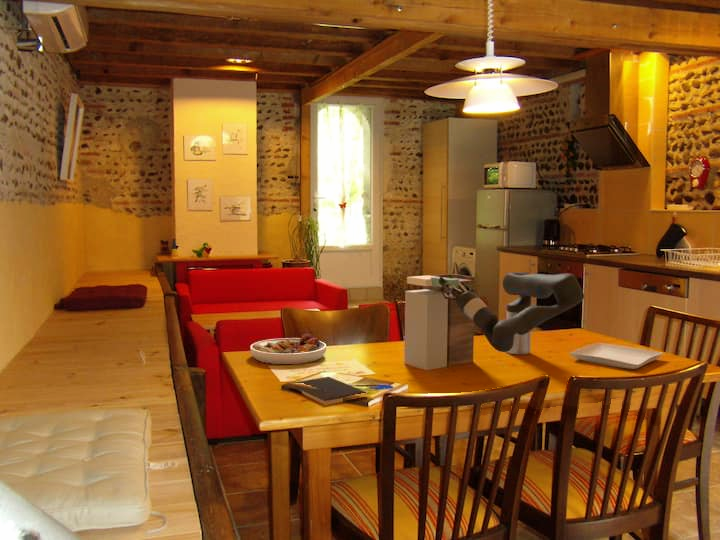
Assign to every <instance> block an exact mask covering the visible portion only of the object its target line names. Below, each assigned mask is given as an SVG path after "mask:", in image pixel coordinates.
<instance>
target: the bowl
mask: <svg viewBox="0 0 720 540" xmlns="http://www.w3.org/2000/svg"><path fill="white" fill-rule="evenodd" d="M249 348H250V349H249V351H250V354H251V356H252V357H253V359H256V360H257V361H259V362H262V363H264V362H265V364H269V363H271V365H279V364H293V365H301V364H300V363H303V364H309V363H312V362H315V361H318V360H320V359H321V358H322V357H324V355H325V354H326V351H327V344H326V343H325V342H322V341H320V340H319V339H318V337H313V336H312V334H310V333H305V334H303V335H302V336H301V338H299V337H290V338H289V337H285V338H284V337H283V338H271V339H270V338H269V339H265V340H264V339H263V340H259V341H257V342H256V341H255V342H254V343H252V344H251V345H250V347H249ZM308 362H309V363H308Z"/></svg>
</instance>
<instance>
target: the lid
mask: <svg viewBox="0 0 720 540" xmlns="http://www.w3.org/2000/svg"><path fill="white" fill-rule="evenodd" d="M443 278H444V277H443ZM439 279H440V277H436V276H432V275H428V274H427V275H414V276H407V277H406V284H410V285H415V286H422V287H428V286H437V287H442V285H441V284H440V283H439ZM444 279H445V280H446V281H447V282H448V283H449V284H450V285H451V286H452V285H453V286H455V287H456V288H458V286H459V279H452V278H444ZM447 288H449V287H447Z"/></svg>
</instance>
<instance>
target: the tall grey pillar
mask: <svg viewBox="0 0 720 540" xmlns="http://www.w3.org/2000/svg"><path fill="white" fill-rule="evenodd" d="M404 297H405V298H404V299H405V300H404V303H405V304H404V364H405V365H409V366H410V367H411V366H412V367H415V368H418V369H421V370H425V371H430V370H435V369H442V368H447V325H448V299H445V298H444V296H443V294H442V292H439V291H433V290H428V288H427V289H425V288H424V289H413V290H412V289H411V290H405V291H404Z"/></svg>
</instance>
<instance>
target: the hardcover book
mask: <svg viewBox="0 0 720 540" xmlns="http://www.w3.org/2000/svg"><path fill="white" fill-rule="evenodd" d="M290 383H291V382H288V385H290ZM292 383H304V384H306V385H310V386H312V387H316V388H317V389H310V388H304V387H299V386H295V387H297V388H298V389H300V390H301V391H302V393H303V394H304V395H303V394H302V395H303V396H305V395H306V397H308V398H310V399H312V400H314V401H316V402H318V403H320V404H322V405H324V406H327V405H328V406H329V405H332V404H339V403H343V398H344V397H347V396H350V395H355V394H361V393H366V392H367V391H364V390H362V389H359V388H357V387H355V386H352V385H350V384H347V383H345V382H342V381H340V380H338V379H335V378H333V377H331V376H324V377H319V378H312V379H306V380H299V381H295V382H292ZM325 390H326V391H325Z"/></svg>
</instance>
